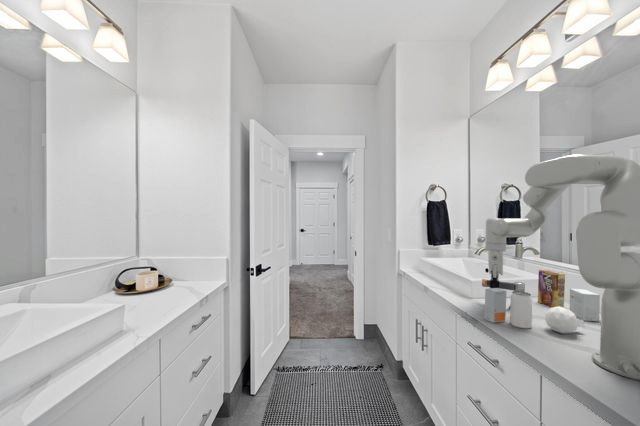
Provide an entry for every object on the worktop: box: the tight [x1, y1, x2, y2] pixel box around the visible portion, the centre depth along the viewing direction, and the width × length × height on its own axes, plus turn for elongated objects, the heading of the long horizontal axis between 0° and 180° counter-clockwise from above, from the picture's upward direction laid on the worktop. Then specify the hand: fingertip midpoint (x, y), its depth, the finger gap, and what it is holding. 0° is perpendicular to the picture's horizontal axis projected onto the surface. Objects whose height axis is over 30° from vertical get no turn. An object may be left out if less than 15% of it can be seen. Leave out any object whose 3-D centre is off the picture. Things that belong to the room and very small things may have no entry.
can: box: [509, 290, 533, 330], centre depth 103 cm, size 6×6×12 cm
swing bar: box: [481, 278, 526, 292], centre depth 122 cm, size 4×16×4 cm, turn 57°
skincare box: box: [483, 287, 508, 324], centre depth 107 cm, size 6×4×12 cm
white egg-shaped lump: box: [544, 306, 585, 335], centre depth 98 cm, size 9×9×12 cm
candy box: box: [537, 269, 566, 308], centre depth 126 cm, size 9×4×15 cm, turn 13°
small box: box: [569, 288, 601, 322], centre depth 112 cm, size 8×6×10 cm
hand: (494, 289), depth 120 cm, fingers closed
